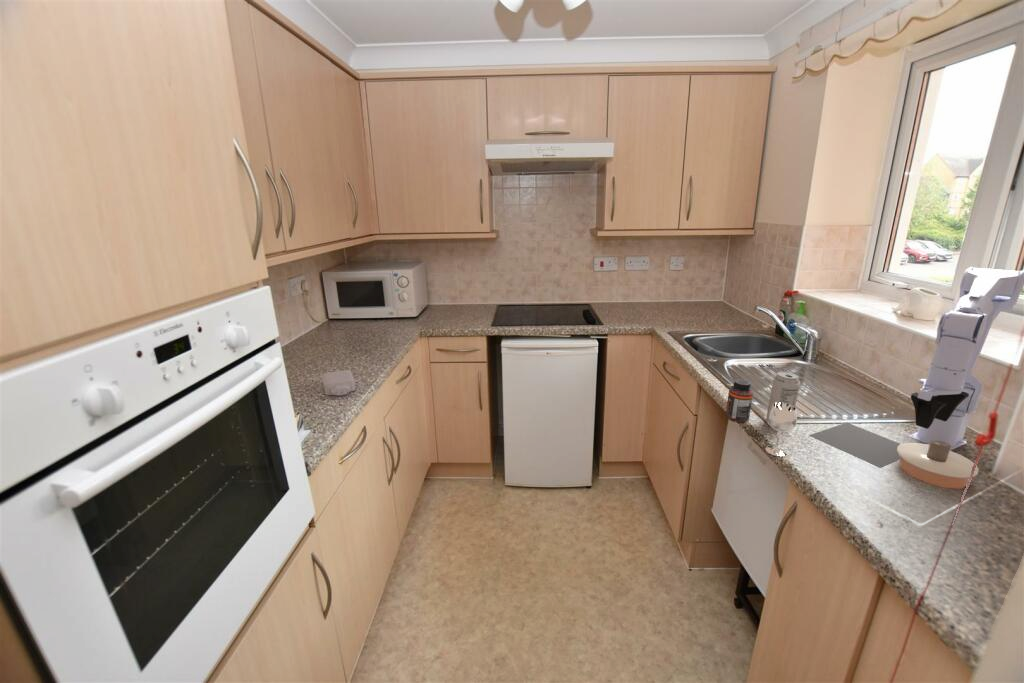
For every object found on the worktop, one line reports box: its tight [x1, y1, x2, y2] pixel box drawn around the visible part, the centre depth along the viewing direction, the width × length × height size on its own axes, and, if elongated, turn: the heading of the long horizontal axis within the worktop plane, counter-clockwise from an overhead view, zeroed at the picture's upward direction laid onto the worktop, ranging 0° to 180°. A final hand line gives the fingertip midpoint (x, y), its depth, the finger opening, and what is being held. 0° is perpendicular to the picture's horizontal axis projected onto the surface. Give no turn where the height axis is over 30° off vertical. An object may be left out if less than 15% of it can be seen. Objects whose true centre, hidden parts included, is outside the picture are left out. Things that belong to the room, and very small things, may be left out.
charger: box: [321, 369, 356, 396], centre depth 143 cm, size 5×9×15 cm
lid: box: [897, 440, 980, 478], centre depth 95 cm, size 13×13×4 cm
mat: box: [808, 422, 901, 469], centre depth 109 cm, size 16×16×1 cm
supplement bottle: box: [725, 378, 754, 423], centre depth 121 cm, size 6×6×11 cm
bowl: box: [898, 457, 969, 490], centre depth 96 cm, size 11×11×4 cm
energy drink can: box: [765, 371, 801, 427], centre depth 116 cm, size 6×6×15 cm
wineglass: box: [765, 402, 798, 457], centre depth 104 cm, size 6×6×12 cm
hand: (931, 422), depth 99 cm, fingers open, 7 cm apart
